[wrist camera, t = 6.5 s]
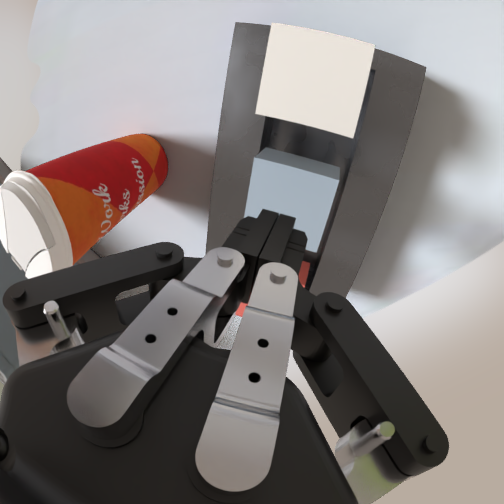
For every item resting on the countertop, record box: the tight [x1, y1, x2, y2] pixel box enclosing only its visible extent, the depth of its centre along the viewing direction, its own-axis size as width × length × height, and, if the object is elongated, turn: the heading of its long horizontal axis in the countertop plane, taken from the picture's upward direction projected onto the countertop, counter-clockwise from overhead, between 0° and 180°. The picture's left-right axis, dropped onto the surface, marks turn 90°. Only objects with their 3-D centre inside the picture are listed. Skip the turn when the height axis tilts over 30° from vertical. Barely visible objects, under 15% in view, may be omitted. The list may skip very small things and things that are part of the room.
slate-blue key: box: [244, 148, 340, 253], centre depth 18 cm, size 4×4×5 cm
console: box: [206, 22, 426, 298], centre depth 21 cm, size 20×12×4 cm, turn 171°
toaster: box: [0, 158, 100, 385], centre depth 31 cm, size 19×35×20 cm, turn 55°
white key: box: [255, 23, 375, 138], centre depth 13 cm, size 4×4×5 cm
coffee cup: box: [0, 134, 168, 279], centre depth 20 cm, size 8×8×15 cm
